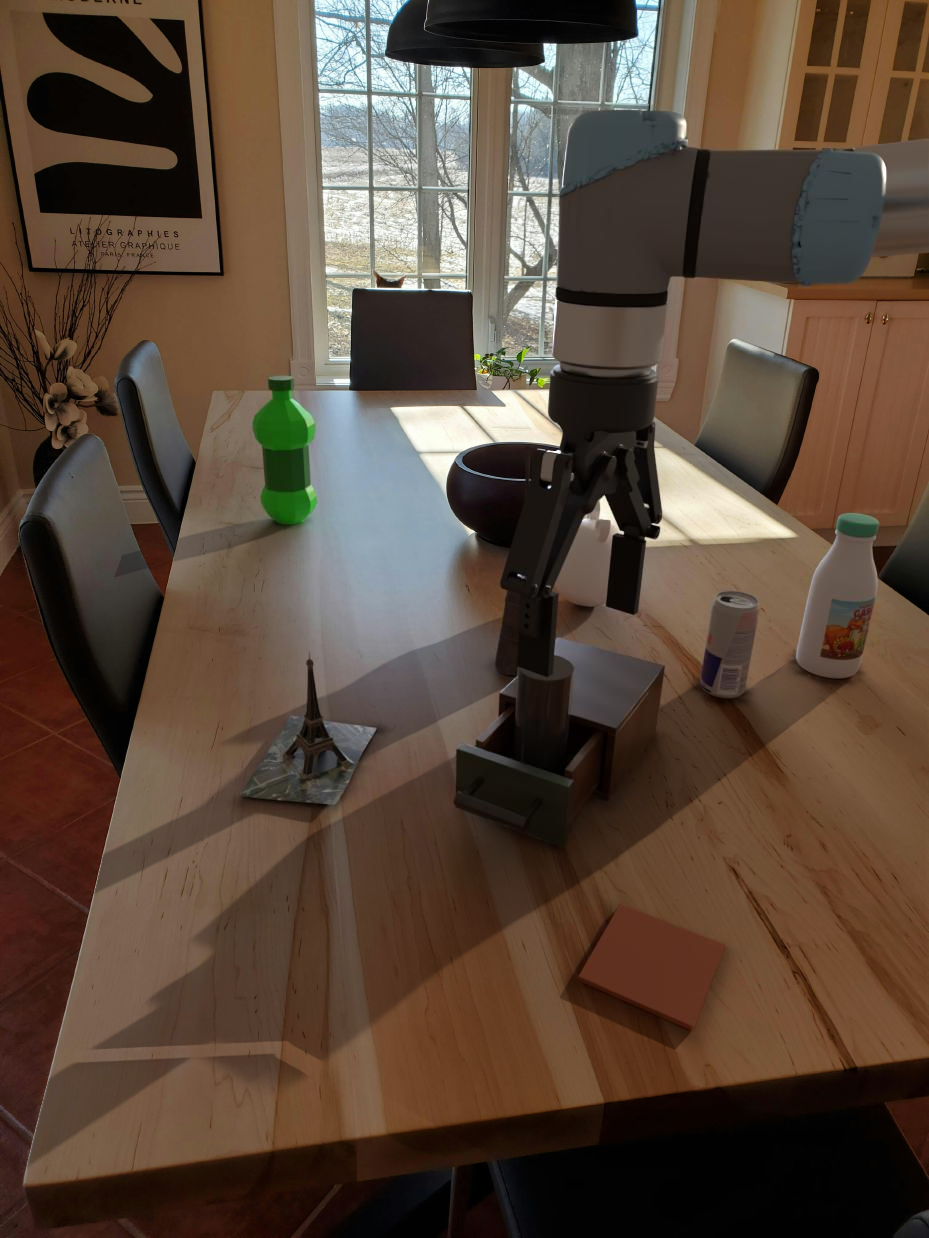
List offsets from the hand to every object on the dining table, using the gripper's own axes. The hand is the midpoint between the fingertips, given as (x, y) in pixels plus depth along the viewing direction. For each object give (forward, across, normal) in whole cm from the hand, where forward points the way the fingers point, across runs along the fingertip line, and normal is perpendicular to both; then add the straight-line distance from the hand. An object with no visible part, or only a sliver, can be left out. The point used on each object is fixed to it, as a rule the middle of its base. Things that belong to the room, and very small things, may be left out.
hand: (581, 638), depth 72 cm
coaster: (+22, +6, +12) cm, 26 cm away
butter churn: (+23, -27, -22) cm, 42 cm away
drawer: (+22, -4, -6) cm, 23 cm away
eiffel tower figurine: (+23, +3, -29) cm, 37 cm away
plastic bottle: (+23, -47, -86) cm, 100 cm away
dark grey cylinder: (+20, -6, -7) cm, 22 cm away
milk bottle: (+23, -53, +8) cm, 58 cm away
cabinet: (+22, -16, -8) cm, 29 cm away
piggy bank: (+23, -49, -26) cm, 60 cm away
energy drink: (+23, -39, -1) cm, 45 cm away
